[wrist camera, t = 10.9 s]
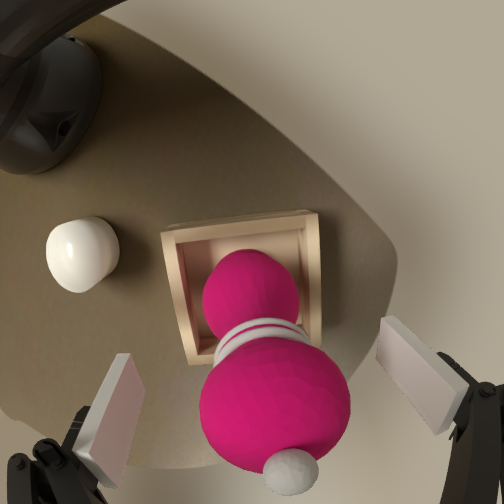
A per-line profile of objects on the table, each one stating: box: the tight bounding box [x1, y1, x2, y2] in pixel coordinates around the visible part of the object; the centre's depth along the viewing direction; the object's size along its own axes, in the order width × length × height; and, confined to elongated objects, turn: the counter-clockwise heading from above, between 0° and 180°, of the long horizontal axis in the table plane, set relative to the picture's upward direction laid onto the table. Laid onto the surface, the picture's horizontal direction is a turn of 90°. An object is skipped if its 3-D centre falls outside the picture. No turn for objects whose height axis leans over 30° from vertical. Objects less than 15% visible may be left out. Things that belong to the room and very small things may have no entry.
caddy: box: [160, 209, 321, 365], centre depth 24 cm, size 12×12×4 cm
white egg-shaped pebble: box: [46, 216, 120, 293], centre depth 22 cm, size 6×6×4 cm
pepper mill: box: [199, 249, 350, 496], centre depth 16 cm, size 7×7×20 cm
